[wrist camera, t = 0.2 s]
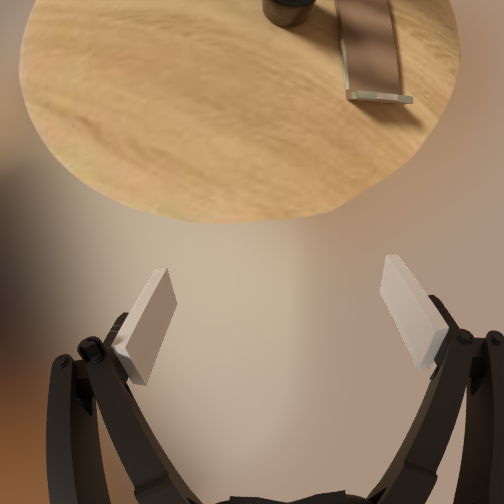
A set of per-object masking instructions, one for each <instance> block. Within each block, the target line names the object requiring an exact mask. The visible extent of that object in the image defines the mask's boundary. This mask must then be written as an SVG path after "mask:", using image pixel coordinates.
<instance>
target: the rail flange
mask: <svg viewBox="0 0 504 504" xmlns="http://www.w3.org/2000/svg"><path fill="white" fill-rule="evenodd" d="M334 2H335V7H336V13H337V19H338V25H339V32H340V39H341V41H340V44H341V52H342V61H343V71H344V81H345V90H346V98H347V100H359V101H373V102H383V103H392V104H413V97H411V96H404V95H400V85H399V74H398V64H397V55H396V48H395V43H394V36H393V30H392V24H391V19H390V14H389V9H388V5H387V0H334Z"/></svg>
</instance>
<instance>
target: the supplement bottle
mask: <svg viewBox="0 0 504 504" xmlns="http://www.w3.org/2000/svg"><path fill="white" fill-rule="evenodd" d="M315 2H316V0H262V7H263V12H264V15H265V16H266V18H267V19H268V20H269V21H271V22H272V23H274V24H276V25H279V26H283V27H294V26H298V25H300V24H302V23H304V22H305V21H306V20H307V18H308V17H309V15H310V13H311V11H312V8H313V6H314V4H315Z"/></svg>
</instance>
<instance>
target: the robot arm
mask: <svg viewBox="0 0 504 504" xmlns="http://www.w3.org/2000/svg"><path fill="white" fill-rule="evenodd" d="M380 295H381V296H382V298H383V300H384V302H385V304H386V306H387V308H388V310H389V312H390V314H391V316H392V318H393V320H394V322H395V324H396V326H397V328H398V330H399V332H400V334H401V336H402V338H403V340H404V342H405V345H406V347H407V349H408V351H409V353H410V355H411V358H412V360H413V362H414V364H415V367H416V369H417V371H421V370H425V369H429V368H430V367H431V365H432V363H433V361H435V363H436V365H437V367H436V369H435V370H434V372H433V374H432V376H431V377H430V380H431V381H430V384H429V386H428V389H427V392H426V394H425V396H424V399H423V402H422V404H421V406H420V408H419V410H418V413H417V415H416V417H415V419H414V421H413V423H412V425H411V428H410V430H409V432H408V434H407V436H406V437H405V439H404V441H403V443H402V445H401V447H400V449H399V451H398V452H397V454H396V456H395V458H394V459H393V461H392V463H391V464H390V466H389V468H388V469H387V471H386V473H385V474H384V476H383V477H382V479H381V480H380V482H379V483H378V484H377V485H376V487H375V488H374V489H373V490H372V491H371V493H370V494H369V495H368V497H367V498H366V499H365V498H363V497H359V496H356V495H349V494H348V495H347V494H345V490H343V491H337V492H330V493H322V494H316V495H313V496H310V497H307V498H304V499H301V500H297V501H294V502H289V503H285V502H279V501H274V500H269V499H264V498H259V497H235V496H230V500H228V501H223V502H219V503H216V504H425V502H426V501H427V499H428V497H429V495H430V493H431V491H432V489H433V487H434V485H435V483H436V481H437V475H436V471H437V468H438V466H439V464H440V462H441V459H442V457H443V455H444V452H445V450H446V447H447V445H448V442H449V440H450V437H451V434H452V431H453V428H454V426H455V423H456V419H457V416H458V413H459V410H460V407H461V403H462V400H463V396H464V392H465V388H466V385H467V402H466V403H467V404H466V424H465V436H464V446H463V453H462V460H461V466H460V472H459V478H458V483H457V488H456V492H455V497H454V502H453V504H504V336H503V334H501V333H500V332H498V331H490V332H488V334H487V335H486V337H485V338H474V336H473V335H472V334H471V333H470V332H469V331H467V330H465V329H459V327H458V325H457V324H456V322H455V321H454V319H453V318H452V316H451V315H450V313H448V310H447V309H446V308H445V307H444V305H443V303H442V302H441V301H440V300H439V299H438V298H437V297H435V296H434V295H427V294H426V293H425V291H424V290H423V288H422V287H421V285H420V284H419V283H418V281H417V280H416V279H415V277H414V276H413V275H412V273H411V272H410V271H409V269H408V268H407V267H406V265H405V264H404V263H403V261H402V260H401V259H400V258H399V256H398V255H386V260H385V266H384V271H383V277H382V283H381V288H380ZM176 306H177V301H176V298H175V294H174V291H173V288H172V284H171V280H170V277H169V273H168V269H167V268H156V269H155V270H154V272H153V274H152V275H151V277H150V279H149V280H148V282H147V283H146V285H145V287H144V289H143V290H142V292H141V294H140V296H139V297H138V299H137V300H136V302H135V304H134V306H133V307H132V309H131V311H130V312H129V313H123V314H122V315H120V316H119V317H118V318H117V320H116V321H115V323H114V325H113V326H112V328H111V330H110V332H109V333H108V335H107V337H106V339H105V340H104V342H103V343H102V342H101V340H100V339H99V338H98V337H95V336H94V337H92V336H91V337H88V338H86V339H84V340H82V341H81V342H80V344H79V346H78V347H77V351H78V353H79V355H80V356H81V358H82V359H83V360H77V361H74V360H73V358H72V357H71V356H70V355H68V354H63V355H60V356H59V357H57V358H56V359H55V360H54V362H53V364H52V369H51V376H50V384H49V395H48V406H47V423H46V425H47V427H46V462H47V479H48V489H49V498H50V504H111V502H110V498H109V494H108V489H107V484H106V479H105V474H104V468H103V462H102V456H101V448H100V441H99V432H98V421H97V408H96V401H97V404H98V406H99V409H100V412H101V415H102V417H103V420H104V423H105V425H106V428H107V430H108V433H109V435H110V437H111V439H112V442H113V444H114V446H115V449H116V451H117V453H118V455H119V457H120V459H121V462H122V464H123V466H124V467H125V470H126V472H127V474H128V476H129V477H130V479H131V481H132V483H133V485H134V487H135V490H134V495H135V497H136V499H137V501H138V503H139V504H202V502H201V501H200V500H199V499H198V498H197V496H196V495H195V494H194V493H193V492H192V491H191V490H190V489H189V487H188V486H187V485H186V483H185V482H184V480H183V479H182V478H181V476H180V475H179V473H178V472H177V470H176V469H175V467H174V466H173V464H172V463H171V462H170V460H169V459H168V457H167V455H166V454H165V452H164V450H163V449H162V447H161V446H160V444H159V442H158V441H157V439H156V437H155V436H154V434H153V432H152V431H151V429H150V427H149V425H148V423H147V422H146V420H145V418H144V416H143V414H142V412H141V410H140V408H139V407H138V405H137V403H136V401H135V399H134V397H133V395H132V393H131V391H130V388H129V386H128V385H127V383H126V382H127V380H128V377H129V378H130V380H131V381H132V383H133V384H138V385H147V382H148V379H149V377H150V374H151V371H152V368H153V366H154V363H155V360H156V358H157V355H158V352H159V349H160V347H161V344H162V341H163V339H164V336H165V333H166V331H167V329H168V326H169V323H170V321H171V318H172V316H173V313H174V311H175V309H176Z"/></svg>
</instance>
